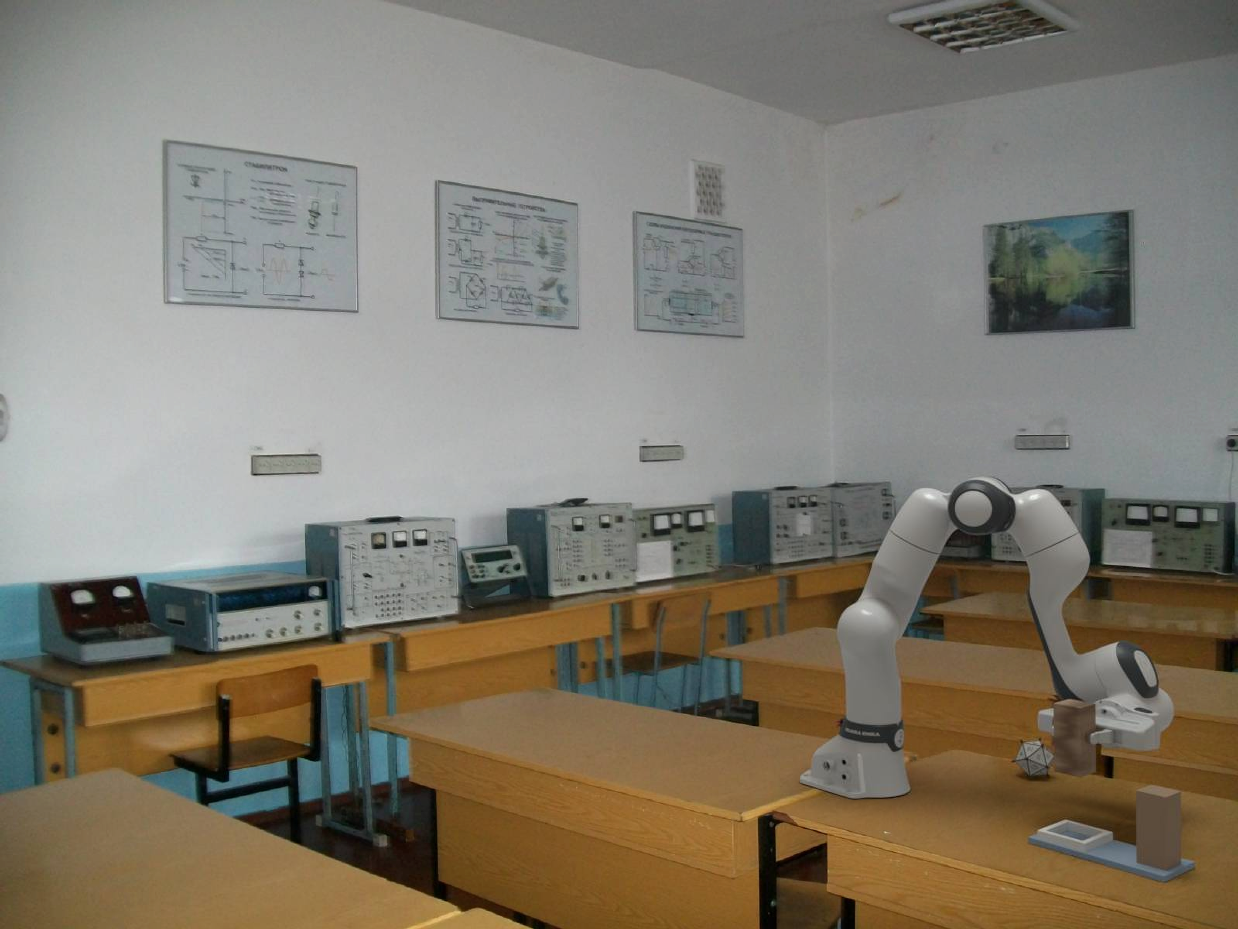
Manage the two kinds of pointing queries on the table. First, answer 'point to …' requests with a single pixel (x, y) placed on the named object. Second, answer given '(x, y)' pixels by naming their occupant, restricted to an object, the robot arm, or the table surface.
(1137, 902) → the table surface
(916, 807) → the table surface
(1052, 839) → the baseplate
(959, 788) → the table surface
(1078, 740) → the pillar
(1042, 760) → the game die
